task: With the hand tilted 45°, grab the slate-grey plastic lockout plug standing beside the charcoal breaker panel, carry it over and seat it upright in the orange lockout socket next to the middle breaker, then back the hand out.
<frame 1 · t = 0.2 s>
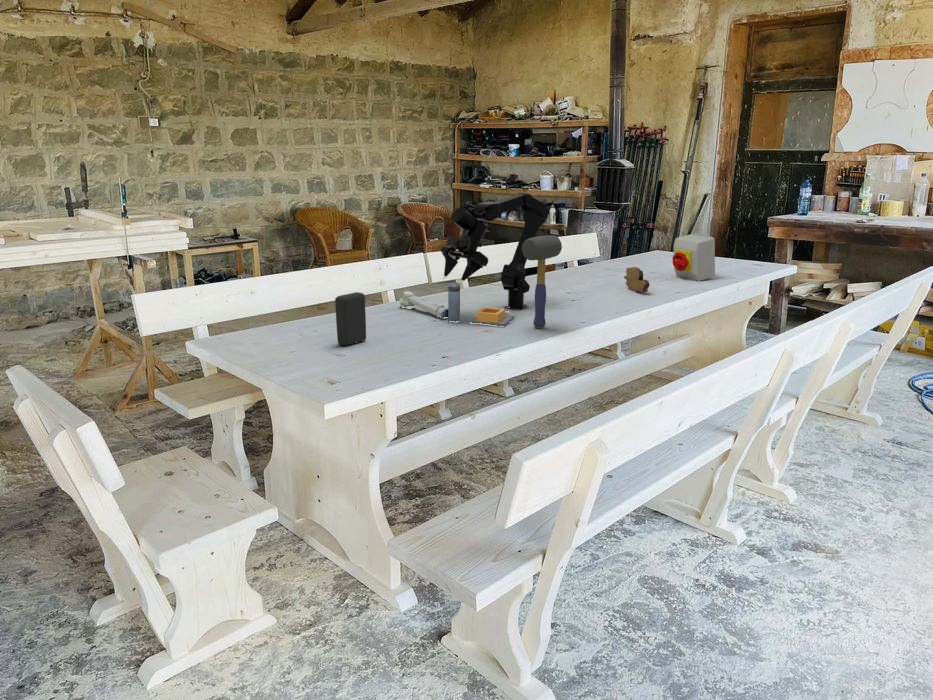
hand: (453, 278, 233), 15 cm above the table, tool tilted 35°, fingers open, 9 cm apart
breaker panel: (492, 321, 235), on the table
lockout plug: (454, 321, 235), on the table
black upright block: (352, 343, 210), on the table
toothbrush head: (424, 314, 247), on the table
rubber mallet: (539, 328, 227), on the table
electrical switch box: (688, 278, 309), on the table
wooden carving: (635, 292, 282), on the table
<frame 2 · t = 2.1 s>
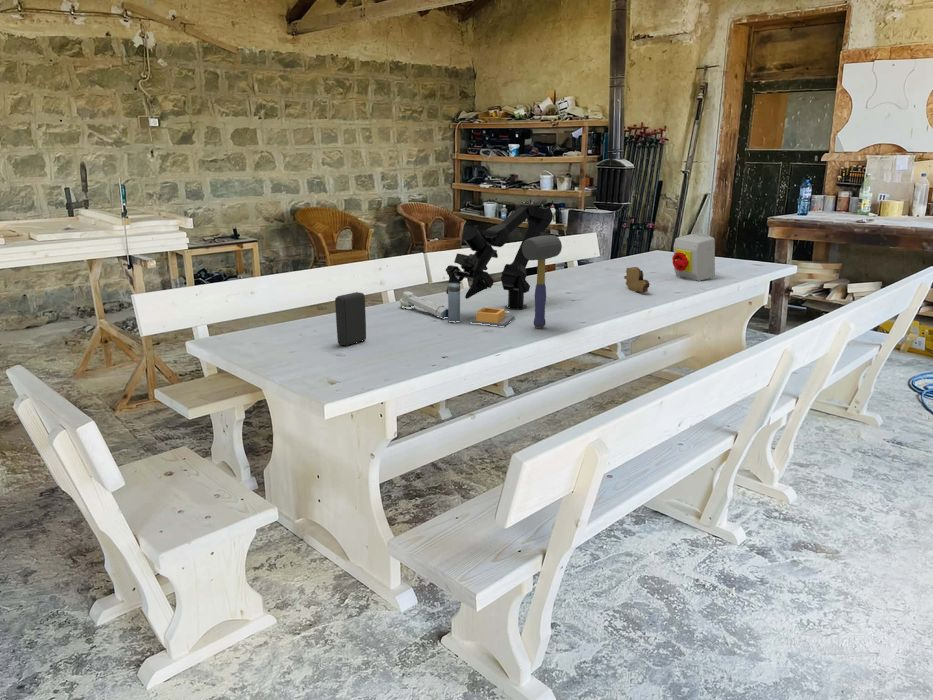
hand: (456, 295, 233), 9 cm above the table, tool tilted 45°, fingers open, 9 cm apart
nothing on the table moved.
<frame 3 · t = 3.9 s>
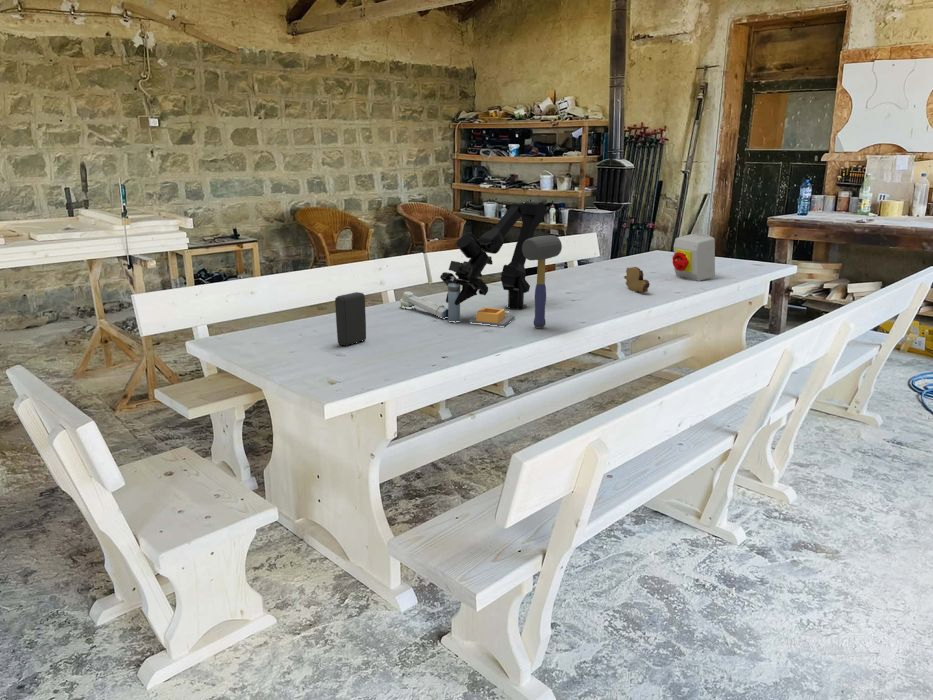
hand: (451, 303, 232), 7 cm above the table, tool tilted 45°, fingers closed on lockout plug, 4 cm apart
lockout plug: (454, 321, 235), on the table, touching gripper
everything else where it was.
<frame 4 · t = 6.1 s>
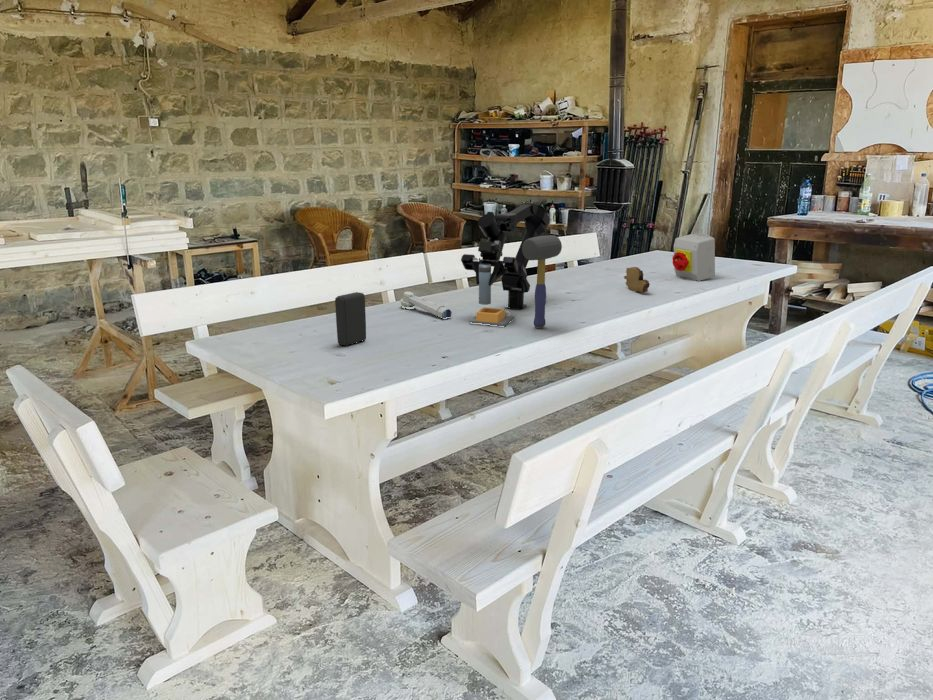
hand: (483, 284, 228), 13 cm above the table, tool tilted 45°, fingers closed on lockout plug, 4 cm apart
lockout plug: (484, 303, 231), point 7 cm above the table, touching gripper
everything else where it was.
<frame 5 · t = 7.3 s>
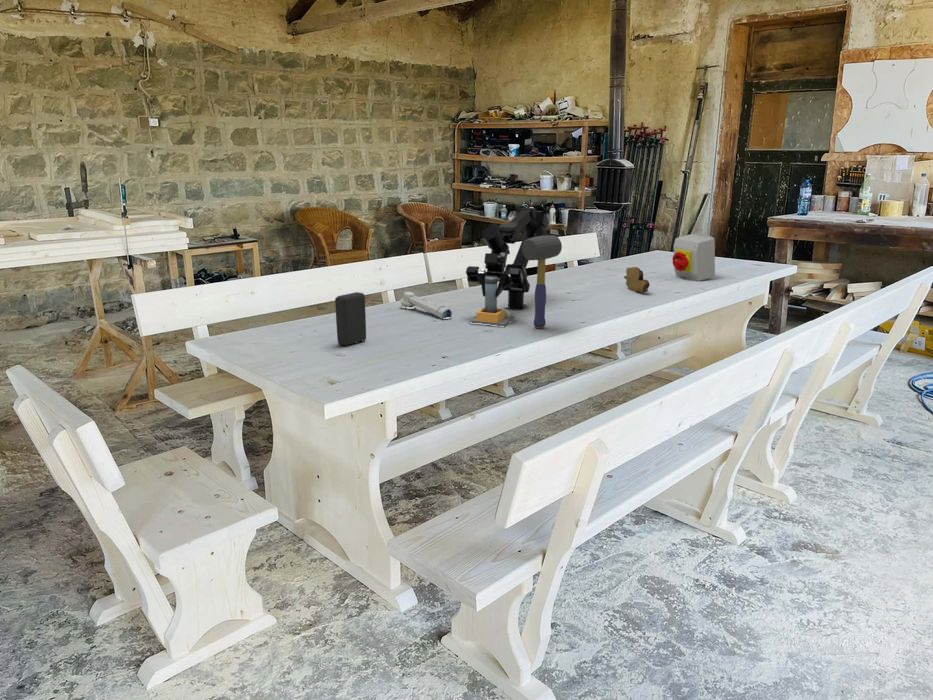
hand: (489, 296, 229), 9 cm above the table, tool tilted 45°, fingers closed on lockout plug, 4 cm apart
lockout plug: (490, 314, 232), point 3 cm above the table, touching gripper
everything else where it was.
when the fingers open (9 cm above the table, at t = 8.1 s): lockout plug drops 1 cm, resting on breaker panel.
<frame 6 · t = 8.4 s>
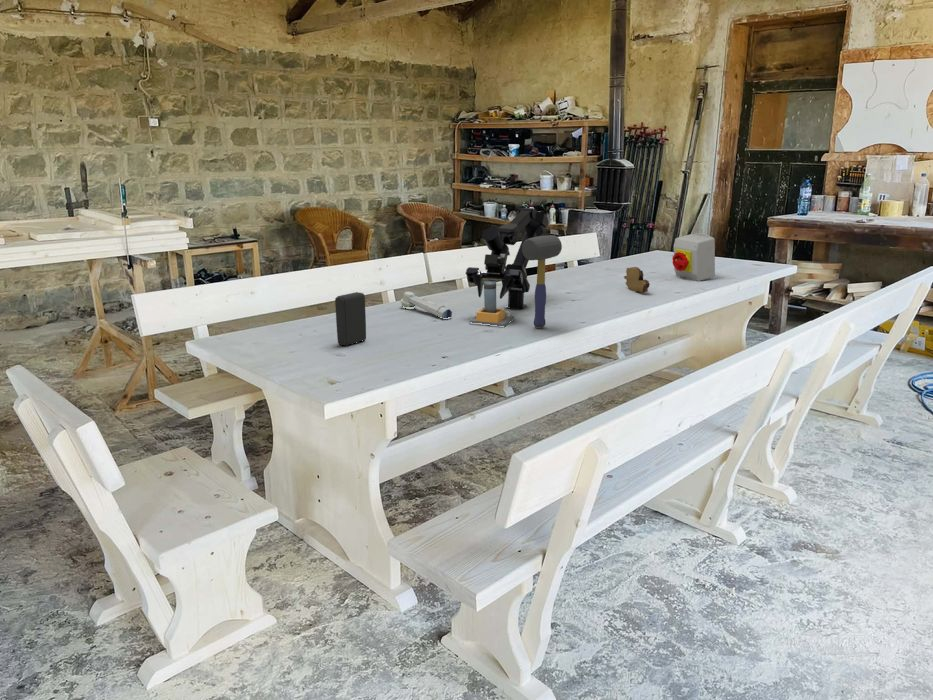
hand: (489, 297, 229), 9 cm above the table, tool tilted 45°, fingers open, 7 cm apart
lockout plug: (490, 319, 233), point 1 cm above the table, touching breaker panel
everything else where it was.
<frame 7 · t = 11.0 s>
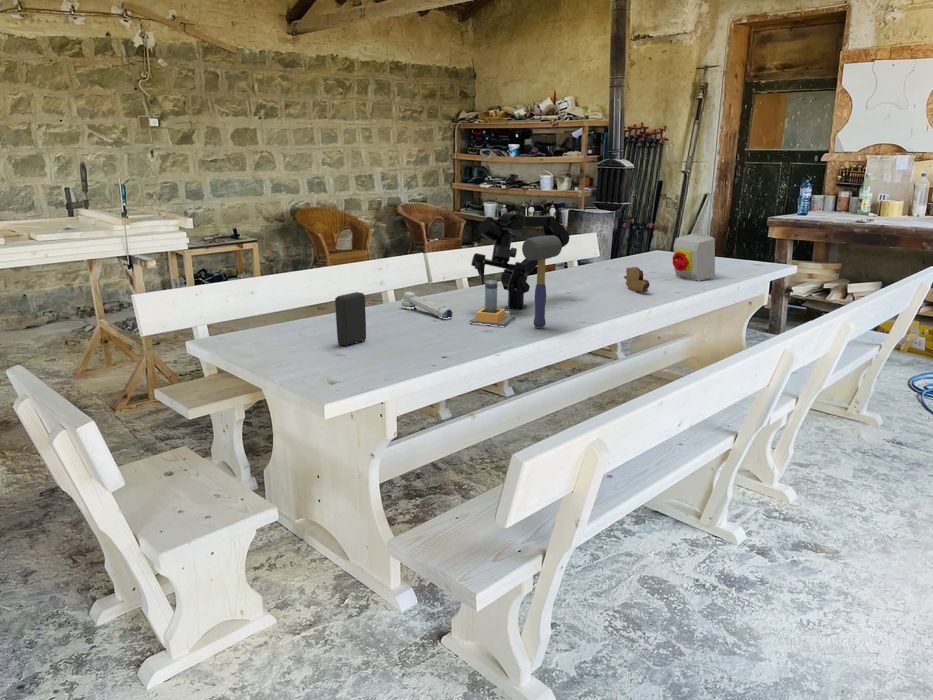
hand: (495, 287, 239), 10 cm above the table, tool tilted 35°, fingers open, 9 cm apart
nothing on the table moved.
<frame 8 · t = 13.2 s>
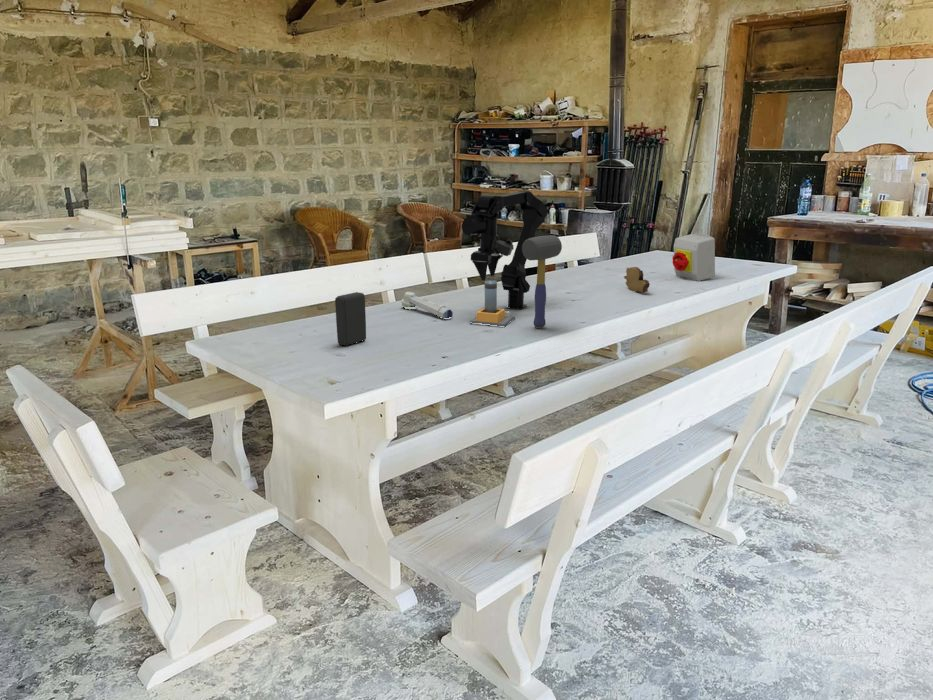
hand: (488, 278, 241), 13 cm above the table, tool pointing down, fingers open, 9 cm apart
at the end: lockout plug 0.0 cm from the target spot on the breaker panel, point 1.2 cm above the breaker panel's base; lockout plug tilted 1°; the gripper is holding nothing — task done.
